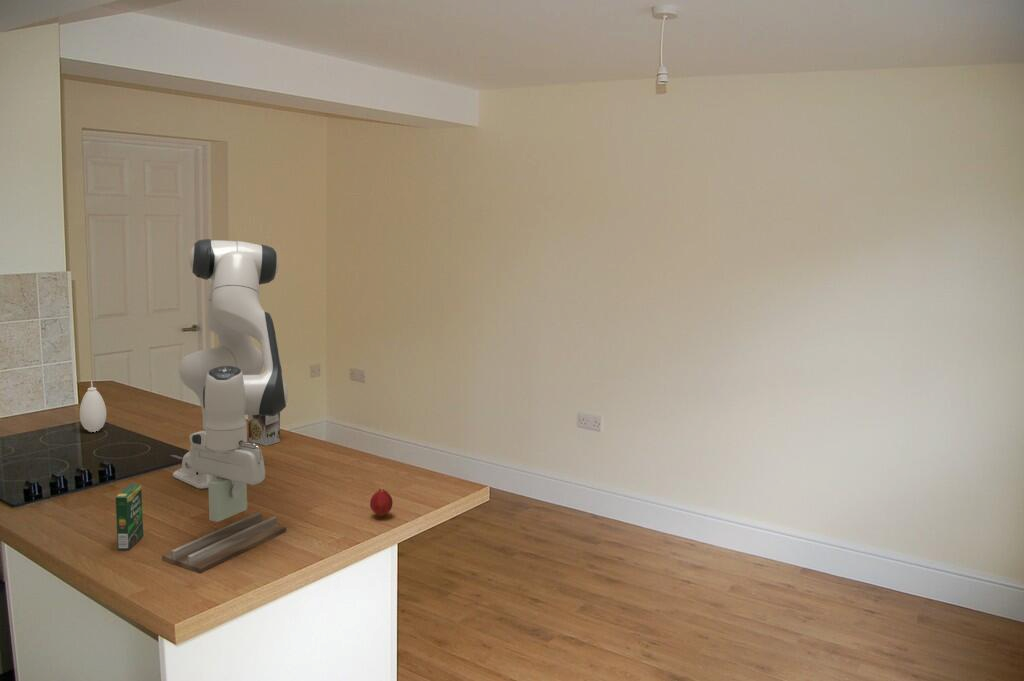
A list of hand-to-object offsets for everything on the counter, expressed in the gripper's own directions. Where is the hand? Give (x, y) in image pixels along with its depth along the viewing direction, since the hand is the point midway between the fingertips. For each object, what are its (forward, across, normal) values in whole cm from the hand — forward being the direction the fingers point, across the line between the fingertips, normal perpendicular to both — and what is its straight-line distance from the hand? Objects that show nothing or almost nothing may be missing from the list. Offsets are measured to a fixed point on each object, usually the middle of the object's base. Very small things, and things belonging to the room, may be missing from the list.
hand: (228, 495), depth 175 cm
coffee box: (+12, +51, -64) cm, 83 cm away
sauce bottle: (+11, +105, -41) cm, 113 cm away
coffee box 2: (+12, +20, +11) cm, 26 cm away
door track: (+12, +1, 0) cm, 12 cm away
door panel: (+5, 0, 0) cm, 5 cm away
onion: (+13, -20, -33) cm, 40 cm away
